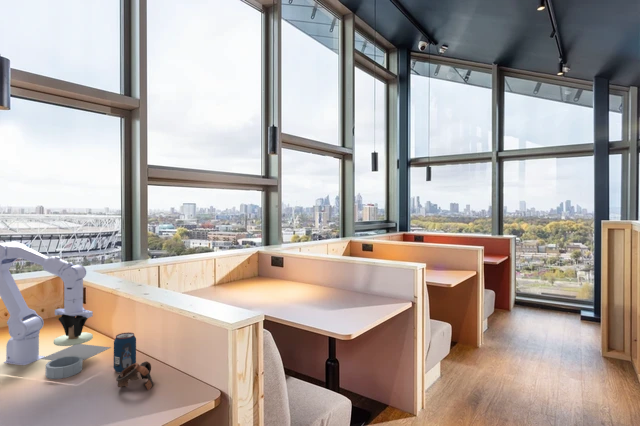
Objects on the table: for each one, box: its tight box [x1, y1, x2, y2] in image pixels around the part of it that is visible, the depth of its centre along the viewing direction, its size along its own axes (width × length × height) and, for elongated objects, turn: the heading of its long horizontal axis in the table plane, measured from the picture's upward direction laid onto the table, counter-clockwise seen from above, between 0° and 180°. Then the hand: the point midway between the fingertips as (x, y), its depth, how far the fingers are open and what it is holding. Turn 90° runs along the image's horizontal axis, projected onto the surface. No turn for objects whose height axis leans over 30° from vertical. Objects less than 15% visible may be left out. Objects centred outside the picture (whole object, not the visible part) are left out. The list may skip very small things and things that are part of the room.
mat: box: [40, 343, 112, 362], centre depth 144 cm, size 16×16×1 cm
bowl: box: [44, 356, 83, 380], centre depth 128 cm, size 10×10×4 cm
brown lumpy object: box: [115, 360, 154, 391], centre depth 120 cm, size 12×10×8 cm
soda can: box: [113, 332, 137, 374], centre depth 131 cm, size 7×7×12 cm
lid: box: [53, 326, 94, 347], centre depth 138 cm, size 12×12×5 cm
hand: (73, 335), depth 138 cm, fingers closed on lid, 3 cm apart
